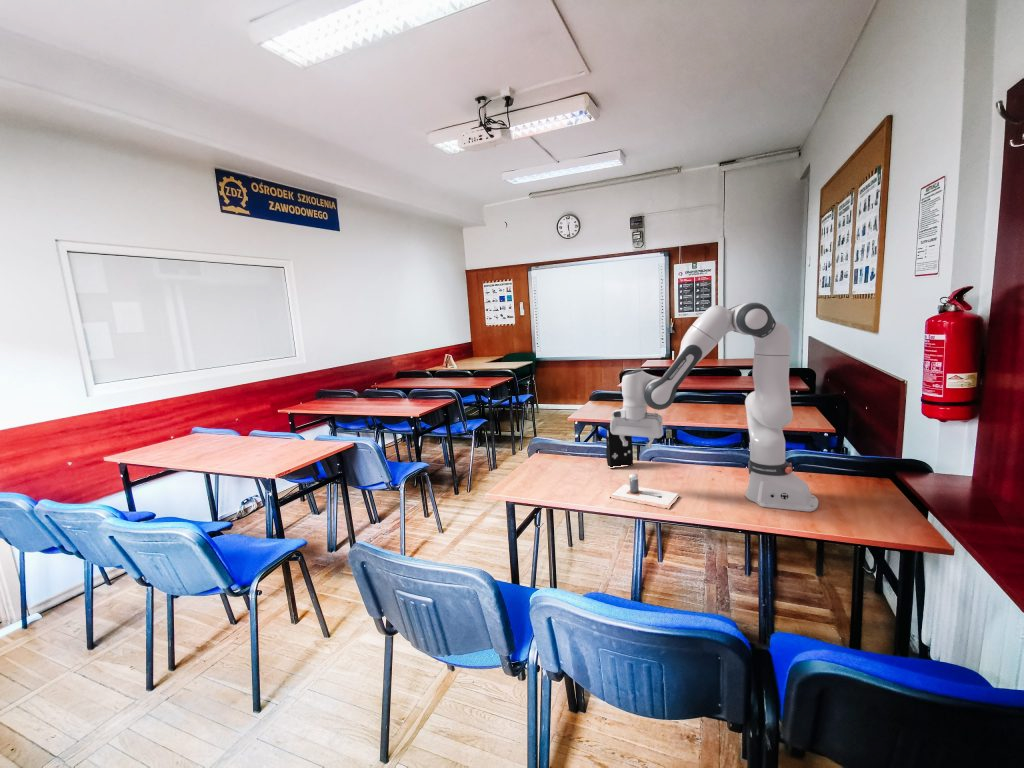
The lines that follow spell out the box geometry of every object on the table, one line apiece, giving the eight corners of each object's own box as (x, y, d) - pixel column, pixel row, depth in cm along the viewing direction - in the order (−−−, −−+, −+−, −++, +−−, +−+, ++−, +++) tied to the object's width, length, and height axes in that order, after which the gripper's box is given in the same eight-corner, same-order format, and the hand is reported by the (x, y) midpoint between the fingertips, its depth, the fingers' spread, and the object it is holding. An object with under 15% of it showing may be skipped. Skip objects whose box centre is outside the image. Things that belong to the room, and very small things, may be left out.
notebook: (680, 496, 169) (680, 493, 169) (668, 509, 159) (668, 506, 159) (623, 486, 183) (623, 483, 183) (609, 498, 173) (609, 494, 173)
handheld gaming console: (610, 469, 204) (608, 427, 201) (606, 466, 209) (603, 425, 206) (634, 465, 207) (632, 424, 204) (628, 462, 212) (627, 422, 209)
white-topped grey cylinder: (640, 491, 174) (639, 474, 173) (636, 494, 171) (635, 476, 170) (632, 490, 176) (631, 473, 175) (628, 492, 173) (627, 475, 173)
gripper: (664, 411, 166) (666, 447, 168) (614, 409, 179) (616, 442, 180) (659, 415, 161) (660, 452, 163) (607, 412, 174) (609, 446, 176)
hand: (637, 447), depth 172 cm, fingers open, 8 cm apart
